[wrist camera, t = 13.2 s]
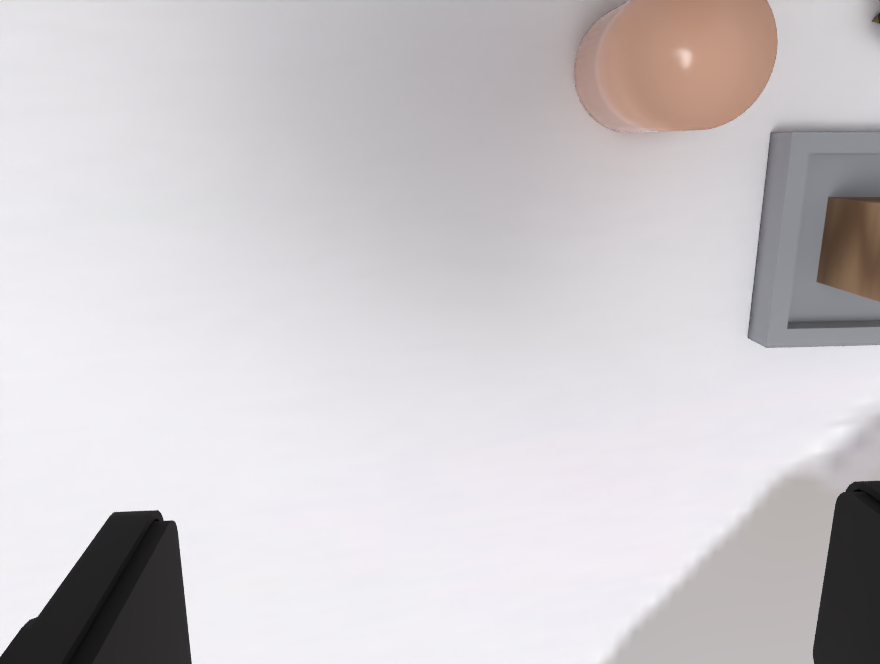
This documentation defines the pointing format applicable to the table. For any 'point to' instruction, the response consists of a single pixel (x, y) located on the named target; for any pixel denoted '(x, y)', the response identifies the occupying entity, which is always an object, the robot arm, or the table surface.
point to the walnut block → (851, 246)
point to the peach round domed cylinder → (675, 63)
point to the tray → (810, 241)
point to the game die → (877, 19)
